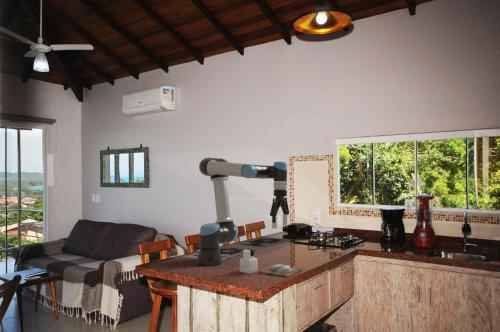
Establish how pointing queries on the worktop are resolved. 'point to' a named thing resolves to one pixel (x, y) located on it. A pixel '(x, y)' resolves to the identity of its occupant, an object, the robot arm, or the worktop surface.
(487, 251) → the worktop surface
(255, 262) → the medicine bottle
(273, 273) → the stand
